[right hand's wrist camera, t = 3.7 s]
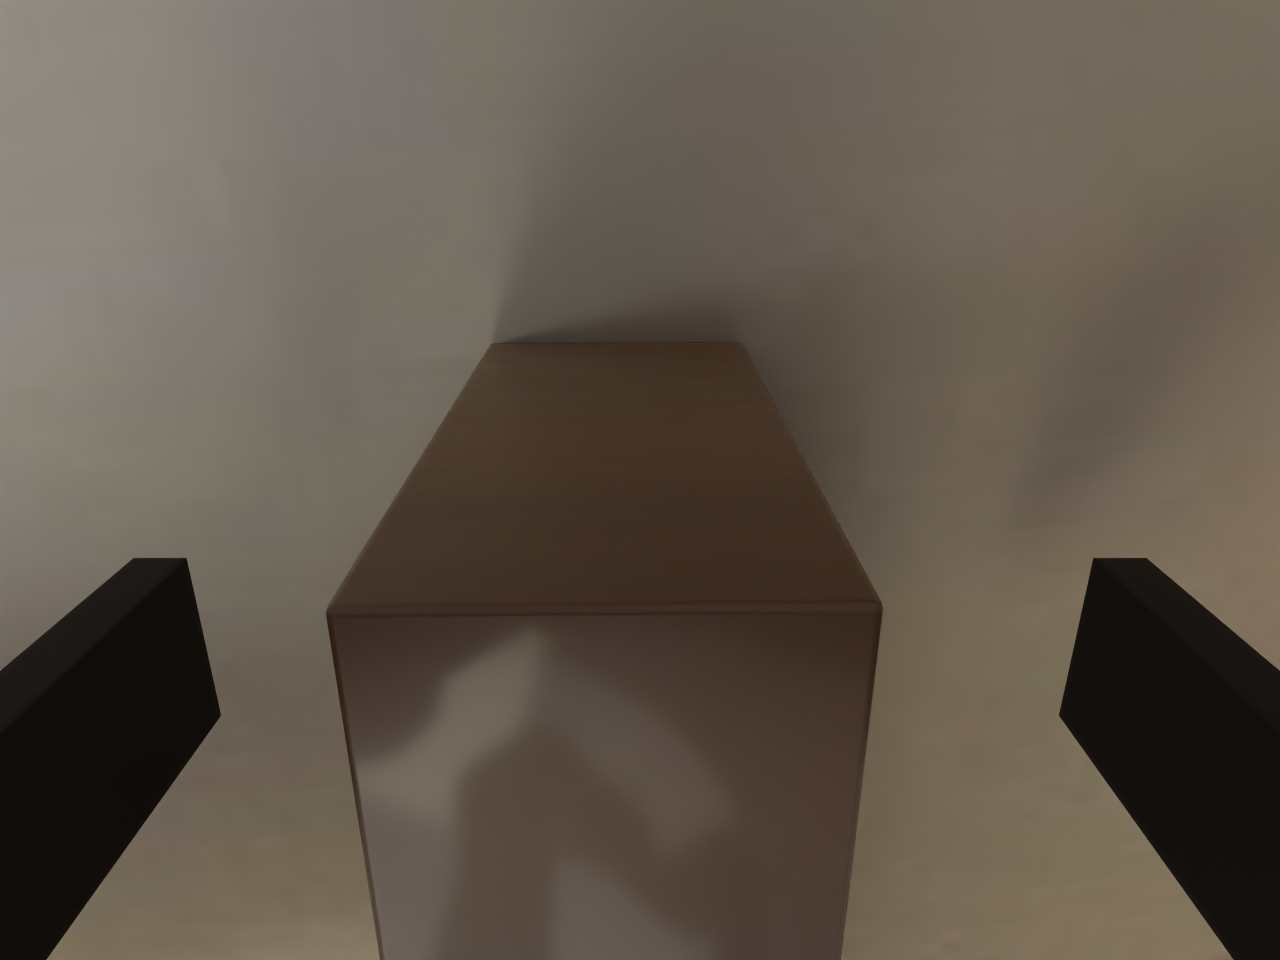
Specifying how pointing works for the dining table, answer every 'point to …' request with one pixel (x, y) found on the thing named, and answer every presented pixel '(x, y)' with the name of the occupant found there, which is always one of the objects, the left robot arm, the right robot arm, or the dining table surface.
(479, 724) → the walnut box
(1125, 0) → the dining table surface
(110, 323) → the dining table surface
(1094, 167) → the dining table surface
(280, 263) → the dining table surface
